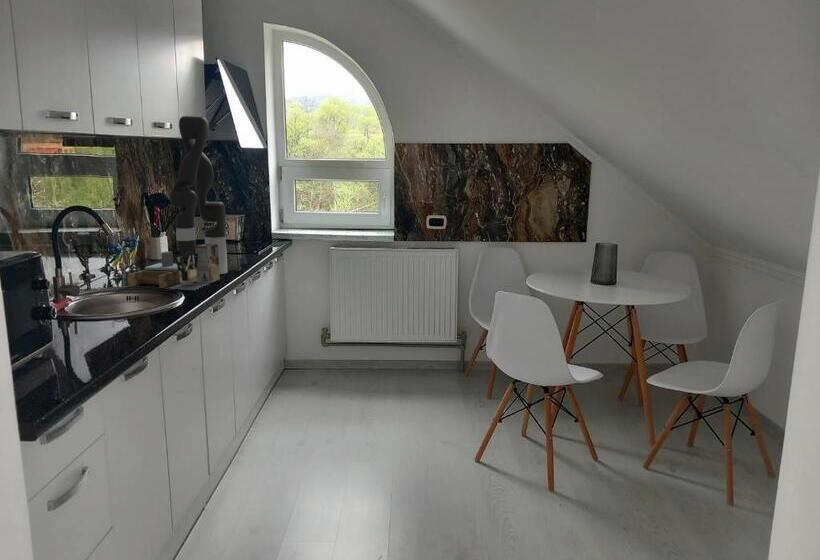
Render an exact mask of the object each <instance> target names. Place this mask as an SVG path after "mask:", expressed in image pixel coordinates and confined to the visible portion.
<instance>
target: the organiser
mask: <svg viewBox="0 0 820 560" xmlns="http://www.w3.org/2000/svg"><path fill="white" fill-rule="evenodd" d="M188 269H189V268H188ZM178 284H180V276H179V271H170V270H145V269H142V270H139V271H136V272H131V273H128V274H127V286H135V287H137V286H136V285H138V286H140V285H158V286H159V288H164V289H166V288H169V287H172V286H175V285H178ZM165 287H166V288H165Z"/></svg>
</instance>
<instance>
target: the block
mask: <svg viewBox="0 0 820 560" xmlns="http://www.w3.org/2000/svg"><path fill="white" fill-rule="evenodd" d="M187 275H188V280H187V281H183V280H182V272H181V271H179V276H180V283H196V282H197V270H196V268H195V269H187ZM180 283H179V284H180Z"/></svg>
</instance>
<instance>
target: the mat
mask: <svg viewBox="0 0 820 560" xmlns="http://www.w3.org/2000/svg"><path fill="white" fill-rule="evenodd" d="M206 285H207V286H210V283H197V282H192V283H178V284H175V285H172V286H169V287H168V288H170V289H169V290H175V289H178V291H181V290H182V291H197V290H200V289H202V288H204V287H203V286H205V287H207V286H206ZM201 287H202V288H201ZM199 288H200V289H199ZM196 289H197V290H196Z"/></svg>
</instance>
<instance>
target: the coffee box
mask: <svg viewBox="0 0 820 560" xmlns="http://www.w3.org/2000/svg"><path fill="white" fill-rule="evenodd" d="M194 253H198V262H197V267H195V269H196V270H197V281H196V283H206V284H211V283H214V282H216V281H217V282H218V281H220V280H221V277H220V275H221V274H220V273H219V256H218V244H205V243H204V244H199V245H196V250H194Z"/></svg>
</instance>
